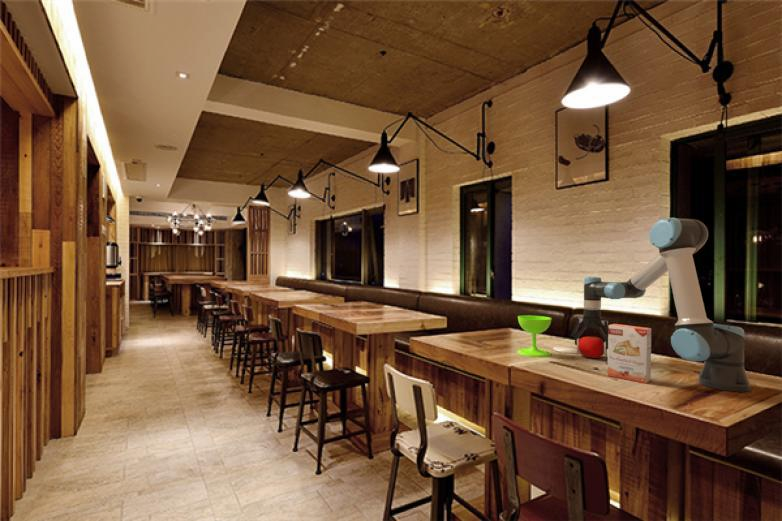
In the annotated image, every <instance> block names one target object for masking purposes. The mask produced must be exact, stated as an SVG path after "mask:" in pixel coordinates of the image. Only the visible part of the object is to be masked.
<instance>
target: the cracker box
mask: <svg viewBox="0 0 782 521" xmlns="http://www.w3.org/2000/svg"><path fill="white" fill-rule="evenodd" d="M608 326H609V330H608V334H607V337H608V349H607V361H608V365H607V376H608V377H612V378H613V377H614V378H617V379H623V380H627V381H631V382H637V383H641V384H645V385H646V384H647V383H649V382H650V381H651V378H652V377H651V375H652V372H651V370H652V367H651V366H652V365H651V364H652V327H651V328H650V327H642V326H634V325H627V324H619V323H612V324H608Z"/></svg>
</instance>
